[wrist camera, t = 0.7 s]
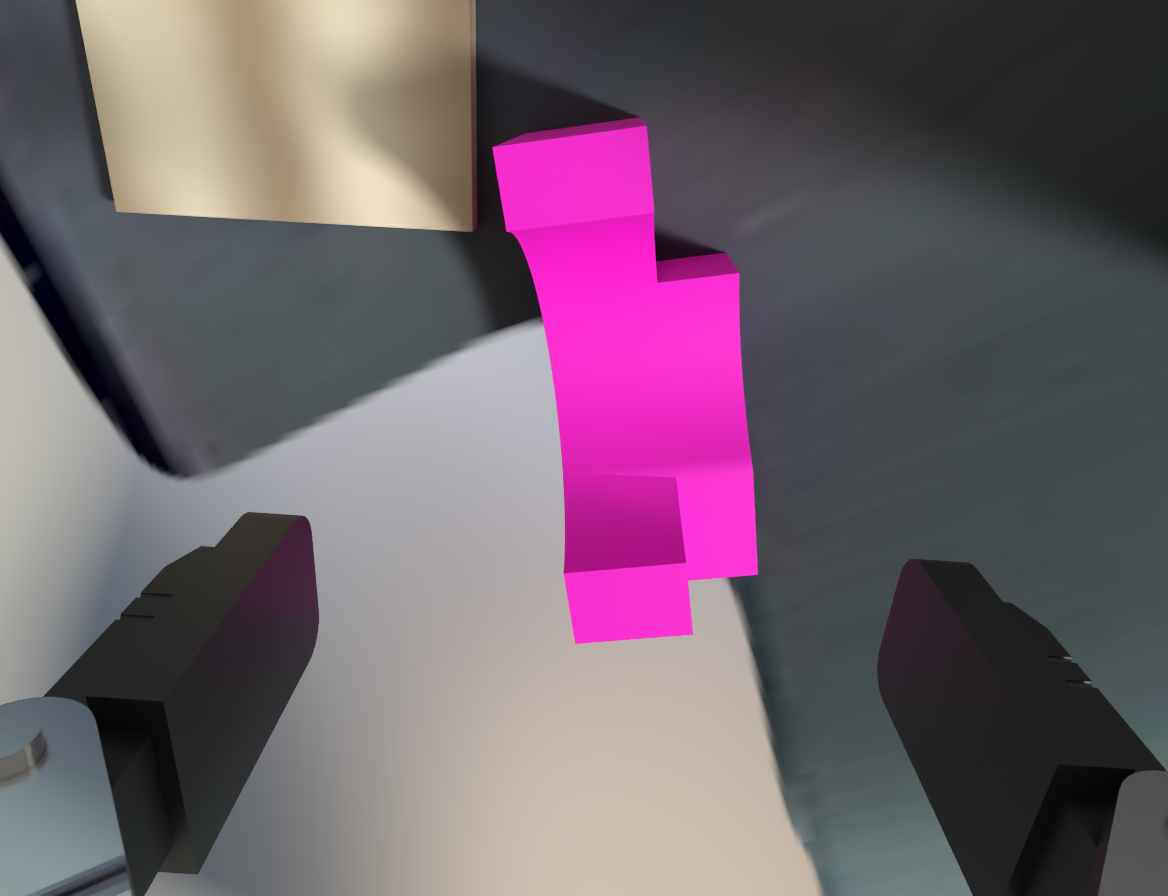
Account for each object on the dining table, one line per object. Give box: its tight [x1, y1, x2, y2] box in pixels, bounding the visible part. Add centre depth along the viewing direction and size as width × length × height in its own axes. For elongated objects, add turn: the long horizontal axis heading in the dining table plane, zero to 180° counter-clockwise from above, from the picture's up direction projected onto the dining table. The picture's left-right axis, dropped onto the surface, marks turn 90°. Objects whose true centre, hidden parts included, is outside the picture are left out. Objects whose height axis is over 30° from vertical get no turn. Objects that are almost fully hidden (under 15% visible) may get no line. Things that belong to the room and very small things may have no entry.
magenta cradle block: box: [493, 117, 758, 644], centre depth 25 cm, size 15×6×8 cm, turn 7°
